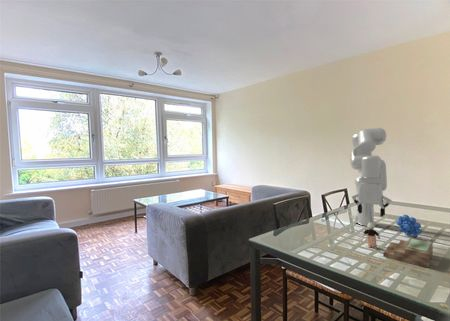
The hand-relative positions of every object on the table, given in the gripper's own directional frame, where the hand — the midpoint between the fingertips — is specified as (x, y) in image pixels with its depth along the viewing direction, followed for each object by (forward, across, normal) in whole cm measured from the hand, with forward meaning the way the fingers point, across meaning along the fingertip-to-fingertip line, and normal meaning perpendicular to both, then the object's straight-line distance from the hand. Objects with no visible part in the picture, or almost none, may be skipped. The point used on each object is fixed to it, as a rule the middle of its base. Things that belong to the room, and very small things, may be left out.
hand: (370, 214), depth 120 cm
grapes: (+17, +11, +29) cm, 35 cm away
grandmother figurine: (+17, 0, +1) cm, 17 cm away
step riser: (+17, +15, +1) cm, 23 cm away
